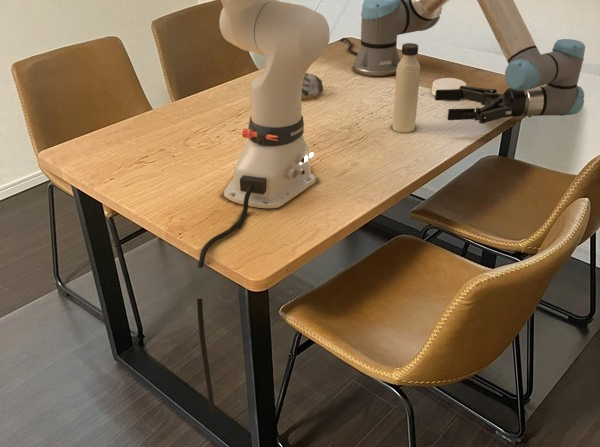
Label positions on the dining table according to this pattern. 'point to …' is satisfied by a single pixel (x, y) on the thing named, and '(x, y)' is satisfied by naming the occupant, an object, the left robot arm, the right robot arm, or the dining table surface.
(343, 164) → the dining table surface
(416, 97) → the bottle
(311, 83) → the rock
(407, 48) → the cap
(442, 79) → the cream round flat disc
